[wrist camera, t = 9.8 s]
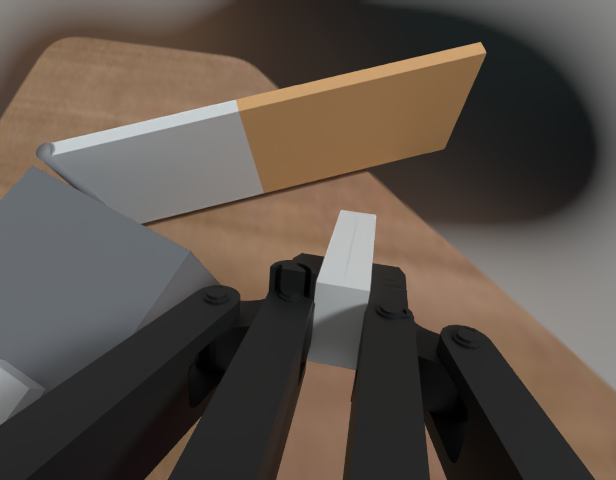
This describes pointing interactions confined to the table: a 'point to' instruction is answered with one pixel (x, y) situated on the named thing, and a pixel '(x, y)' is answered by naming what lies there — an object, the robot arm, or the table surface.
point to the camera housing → (76, 284)
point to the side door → (271, 138)
